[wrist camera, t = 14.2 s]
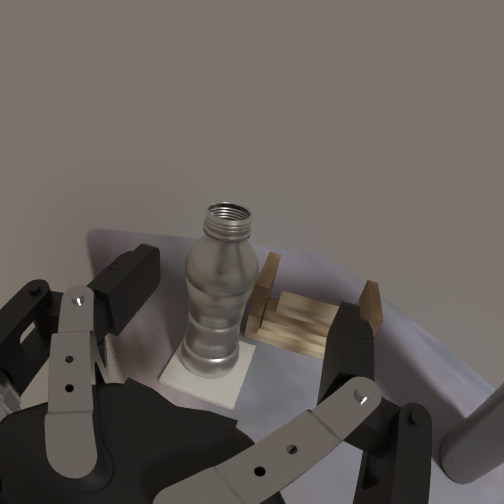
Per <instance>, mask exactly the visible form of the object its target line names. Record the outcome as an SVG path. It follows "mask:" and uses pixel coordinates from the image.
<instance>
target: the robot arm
mask: <svg viewBox="0 0 504 504" xmlns="http://www.w3.org/2000/svg"><path fill="white" fill-rule="evenodd" d="M159 282H160V251H159V249H158V248H157V247H154V246H151V245H147V244H144V243H142V244H141V245H139V246H138V247H137V248H136V249H135V250H134V251H133V252H132V251H128V252H126V253H124V254H122V255H120V256H119V257H118V258H116V259H115V260H114V261H113V263H111V264H110V265H109V266H108V267H107V269H106V268H105V269H104V270H103V271H102V272H101V273H100V274H99V275H98V276H97V277H96V278H95V279H94V280H93V281H91V282H90V283H89V284H88V285H87V286H75V287H72V288H70V289H68V290H67V291H66V292H65V293H61V292H53V291H51V290H50V287H49V284H48V283H47V282H46V281H45V280H39V279H38V280H33V281H31V282H29V283H27V284H26V285H25V286H24V287H23V288H22V289H21V290H20V291H19V292H18V293H17V294H16V295H15V296H13V297H12V299H10V300H9V302H7V303H6V305H4V307H3V308H2V309H1V310H0V504H286V503H285V501H284V499H283V497H282V495H281V493H280V491H281V490H282V489H284V488H285V487H286V486H288V485H289V484H291V483H292V482H293V481H295V480H296V479H297V478H299V477H300V476H301V475H303V474H304V473H305V472H306V471H308V470H309V469H310V468H311V467H313V466H314V465H315V464H316V463H318V462H319V461H320V460H321V459H323V458H324V457H325V456H326V455H327V454H328V453H330V452H331V451H332V450H333V449H334V448H335V447H337V446H338V445H339V444H340V443H341V442H342V441H345V442H347V443H349V444H351V445H353V446H355V447H357V448H359V449H361V450H363V454H362V460H361V466H360V471H359V476H358V482H357V486H356V491H355V496H354V500H353V504H428V500H429V489H430V476H431V453H432V422H431V416H430V414H429V412H428V411H427V409H426V408H425V407H423V406H422V405H420V404H417V403H408V404H406V405H404V406H403V407H399V406H397V405H395V404H393V403H391V402H389V401H388V400H386V399H385V398H383V397H382V396H381V391H380V389H379V387H378V386H377V384H376V383H375V381H374V351H373V350H374V343H373V341H374V340H373V330H372V328H371V326H370V324H369V322H368V321H366V320H363V319H360V306H358V305H355V304H351V303H347V302H343V301H342V302H341V304H340V306H339V308H338V311H337V313H336V315H335V317H334V320H333V322H332V324H331V326H330V329H329V331H328V335H327V339H326V346H325V353H324V361H323V368H322V375H321V382H320V388H319V395H318V401H317V406H316V407H315V408H314V409H312V410H306V411H304V412H302V413H301V414H299V415H298V416H297V417H295V418H294V419H292V420H291V421H289V422H288V423H287V424H285V425H284V426H282V427H281V428H279V429H278V430H276V431H275V432H273V433H272V434H270V435H268V436H267V437H265V438H264V439H262V440H261V441H259V442H257V443H256V444H255V443H254V442H253V440H252V439H250V438H249V437H248V436H247V435H246V434H245V433H243V432H242V431H240V430H239V429H237V428H236V425H237V422H238V421H237V420H234V419H231V418H228V417H225V416H222V415H219V414H216V413H213V412H210V411H204V410H197V409H190V408H183V407H178V406H176V405H174V404H172V403H171V402H170V401H168V400H167V399H166V398H164V397H163V396H162V395H160V394H159V393H158V392H156V391H155V390H154V389H152V388H150V387H148V386H145V385H143V384H141V383H139V382H137V381H135V380H133V379H130V378H127V380H126V381H125V383H124V384H121V383H111V382H110V378H109V373H108V362H107V349H106V338H105V336H106V335H107V334H108V332H109V333H111V334H113V335H115V336H118V335H119V334H120V333H121V331H122V330H123V329H124V328H125V326H126V325H127V324H128V323H129V321H130V320H131V319H132V318H133V316H134V315H135V314H136V313H137V312H138V310H139V309H140V308H141V307H142V305H143V304H144V303H145V302H146V301H147V299H148V298H149V297H150V296H151V294H152V293H153V292H154V291H155V290H156V288H157V287H158V284H159ZM32 322H33V323H34V325H35V328H34V329H33V330H32V331H31V333H30V334H29V335H28V336H27V337H26V338H25V340H24V341H23V342H22V343H21V344H20V337H21V335H22V333H23V332H24V331H25V330H26V329H27V327H28V326H29V325H30V324H31V323H32ZM49 357H50V361H49V383H48V384H49V387H48V402H45V403H42V404H39V405H36V406H33V407H30V408H26V409H23V410H21V408H20V407H19V405H20V396H21V395H22V393H23V392H24V391H25V389H26V388H27V387H28V385H29V384H30V382H31V381H32V379H33V378H34V377H35V375H36V374H37V373H38V371H39V370H40V369H41V367H42V366H43V365H44V363H45V362H46V360H47V359H48V358H49ZM440 459H441V463H442V466H443V469H444V471H445V472H446V474H447V475H448V476H449V477H450V478H451V479H452V480H453V481H455V482H457V483H462V484H466V483H470V482H473V481H474V480H476V479H478V478H480V477H481V476H483V475H485V474H486V473H488V472H490V471H491V470H493V469H495V468H496V467H498V466H499V465H501V464H502V463H504V383H503V384H502V385H501V386H500V387H499V388H498V389H497V390H496V391H495V392H494V393H493V394H492V395H491V396H490V397H489V398H488V399H487V400H486V401H485V402H484V403H483V404H482V405H480V406H479V407H478V408H477V409H476V410H475V411H474V412H473V413H472V414H471V415H469V416H468V417H467V418H466V419H465V420H463V421H462V422H461V423H460V424H459V425H458V426H456V427H455V428H454V429H453V430H451V431H450V432H449V433H448V434H447V435H446V436H445V438H444V439H443V441H442V444H441V448H440Z"/></svg>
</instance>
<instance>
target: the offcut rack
mask: <svg viewBox="0 0 504 504" xmlns="http://www.w3.org/2000/svg"><path fill="white" fill-rule="evenodd" d="M280 257H281V255H279V254H276V253H272V252H270V253H269V255H268V257H267V260H266V262H265V264H264V267H263V269H262V271H261V274H260V276H259V278H258V281H257V283H256V286H255V290H254V295H253V299H252V303H251V308H250V312H249V316H248V321H247V325H246V329H245V333H244V337H246V338H250V339H253V340H256V341H259V342H263V343H266V344H269V345H273V346H276V347H280V348H283V349H287V350H290V351H294V352H297V353H301V354H305V355H308V356H312V357H316V358H320V359H324V353H325V346H326V339H327V335H328V331H329V329H330V326H331V324H332V322H333V320H334V317H335V315H336V313H337V311H338V308H339V306H335V305H332V304H328V303H325V302H321V301H317V300H314V299H310V298H307V297H303V296H300V295H296V294H293V293H290V292H286V291H283V290H282V292H281V295H280V299H279V300H276V299H272V298H270V294H271V291H272V287H273V283H274V280H275V276H276V272H277V268H278V265H279V261H280ZM356 305H358V306H360V319H363V320H366V321H368V322H369V324H370V326H371V328H372V330H373V337H374V335H375V333H376V332H377V330H378V328H379V327H380V325H381V323H382V322H383V315H382V307H381V300H380V293H379V288H378V283H376V282H372V281H369V280H368V281H367V283H366V285H365V287H364V290H363V292H362V294H361V296H360V298H359V300H358V302H357V304H356Z"/></svg>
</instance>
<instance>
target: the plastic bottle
mask: <svg viewBox="0 0 504 504" xmlns="http://www.w3.org/2000/svg"><path fill="white" fill-rule="evenodd" d="M251 221H252V212H251V211H250V210H249V209H248V208H246V207H244V206H242V205H239V204H236V203H231V202H216V203H212V204H210V205H209V206H207V209H206V216H205V221H204V224H203V230H204V232H205V234H204V235H203V236H202V237H201V238H200V239H199V240H198V241H197V242H196V243H195V244H194V246H193V247H192V248H191V249H190V251H189V254H188V256H187V258H186V261H185V274H186V283H187V291H188V320H187V326H186V332H185V334H184V337H183V341H182V345H181V354H182V358H183V362H184V364H185V366H186V367H187V368H188V370H189V371H191V372H192V373H193V374H195V375H197V376H199V377H202V378H206V379H216V378H221V377H224V376H226V375H227V374H229V373H230V372H231V371H232V370H233V368H234V367H235V365H236V363H237V361H238V359H239V332H240V324H241V320H242V316H243V314H244V311H245V307H246V304H247V302H248V299H249V297H250V295H251V292H252V290H253V288H254V286H255V283H256V281H257V278H258V275H259V265H258V260H257V257H256V255H255V253H254V251H253V249H252V247H251V246H250V244H249V242H248V241H247V239H248V238H249V237H250V234H251Z"/></svg>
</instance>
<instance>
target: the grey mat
mask: <svg viewBox="0 0 504 504" xmlns="http://www.w3.org/2000/svg"><path fill="white" fill-rule="evenodd" d="M182 341H183V340H182ZM181 345H182V342H181V344H180V345H179V347H178V348H177V350H176V352H175V353H174V355H173V357H172V358H171V360H170V362H169V363H168V365H167V367H166V368H165V370H164V372H163V373H162V375H161V377H160V378H159V383H161V384H163V385H165V386H168V387H170V388H173V389H175V390H178V391H180V392H183V393H185V394H188V395H190V396H193V397H196V398H198V399H201V400H204V401H206V402H209V403H212V404H215V405H218V406H221V407H224V408H227V409H230V410H233V408H234V406H235V403H236V400H237V398H238V395H239V392H240V390H241V387H242V384H243V381H244V379H245V376H246V373H247V370H248V367H249V365H250V362H251V359H252V356H253V353H254V351H255V348H256V346H254V345H251V344H248V343H245V342H241V341H239V359H238V361H237V363H236V365H235V367H234V368H233V370H232V371H231V372H230V373H229V374H227V375H226V376H224V377H221V378H216V379H206V378H202V377H199V376H197V375H195V374H193V373H192V372H191V371H189V370H188V368H187V367H186V366H185V364H184V362H183V358H182V354H181Z"/></svg>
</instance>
